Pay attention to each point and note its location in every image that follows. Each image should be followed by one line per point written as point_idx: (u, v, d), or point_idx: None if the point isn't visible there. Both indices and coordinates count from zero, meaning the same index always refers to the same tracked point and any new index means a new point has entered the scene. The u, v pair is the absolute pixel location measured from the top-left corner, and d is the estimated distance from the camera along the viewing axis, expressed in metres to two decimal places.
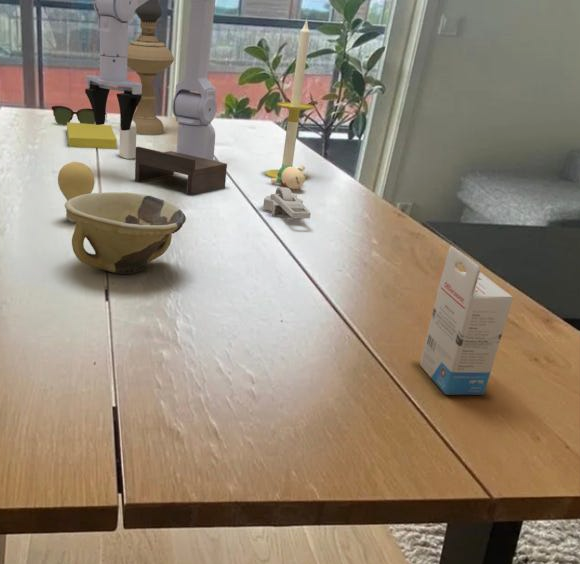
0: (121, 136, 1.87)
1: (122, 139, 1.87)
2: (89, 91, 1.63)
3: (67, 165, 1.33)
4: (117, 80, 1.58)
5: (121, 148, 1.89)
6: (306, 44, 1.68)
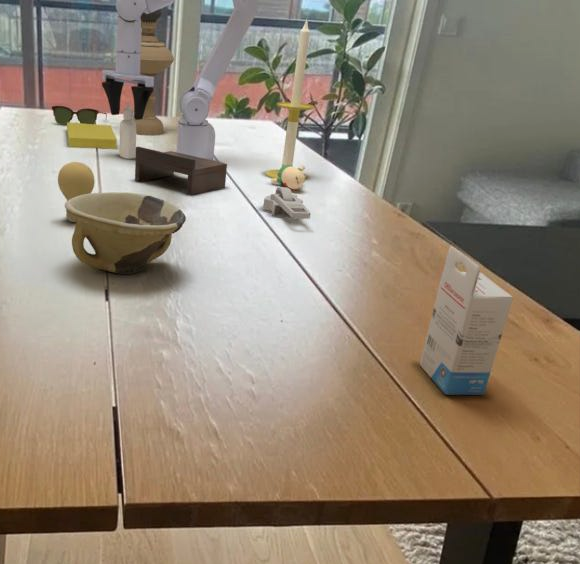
0: (121, 136, 1.87)
1: (122, 139, 1.87)
2: (106, 84, 1.80)
3: (67, 165, 1.33)
4: (131, 74, 1.76)
5: (121, 148, 1.89)
6: (306, 44, 1.68)
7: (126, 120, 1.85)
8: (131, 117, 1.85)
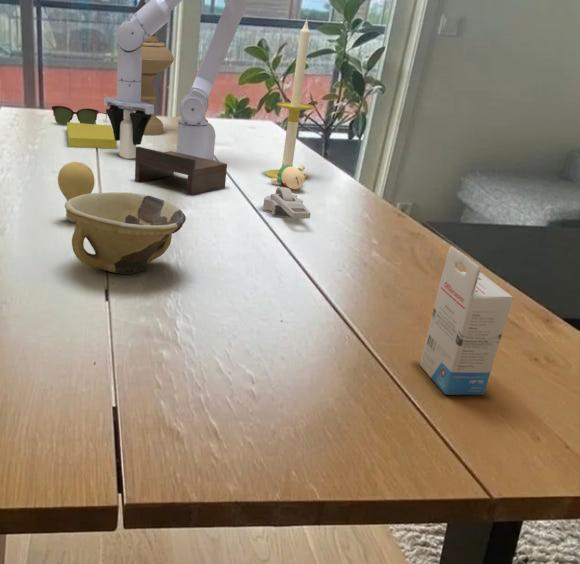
0: (121, 136, 1.87)
1: (122, 139, 1.87)
2: (109, 111, 1.85)
3: (67, 165, 1.33)
4: (132, 102, 1.81)
5: (121, 148, 1.89)
6: (306, 44, 1.68)
7: (126, 120, 1.85)
8: None
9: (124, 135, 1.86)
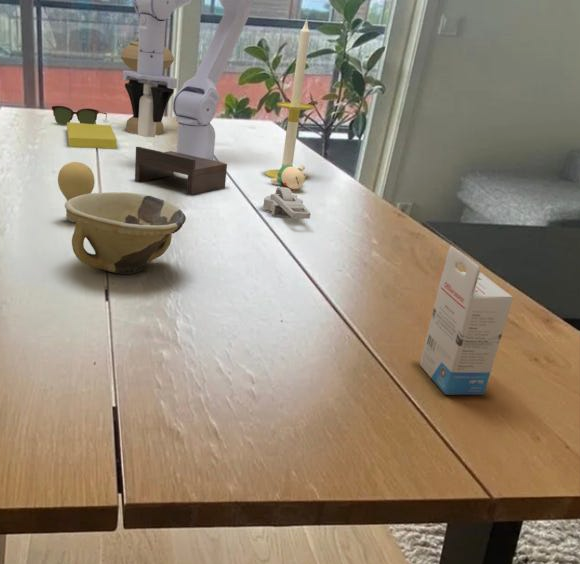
0: (140, 113, 1.74)
1: (141, 116, 1.74)
2: (129, 85, 1.72)
3: (67, 165, 1.33)
4: (154, 75, 1.68)
5: (140, 126, 1.75)
6: (306, 44, 1.68)
7: (146, 95, 1.72)
8: None
9: (144, 111, 1.73)
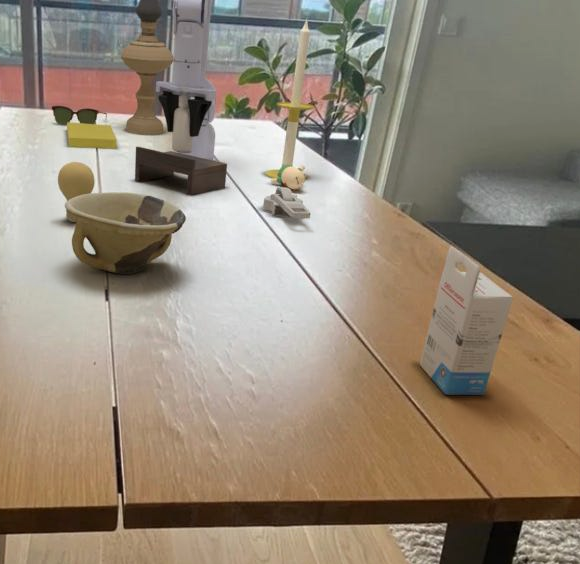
0: (175, 127, 1.62)
1: (176, 130, 1.62)
2: (163, 98, 1.60)
3: (67, 165, 1.33)
4: (190, 86, 1.56)
5: (175, 141, 1.63)
6: (306, 44, 1.68)
7: (182, 108, 1.59)
8: None
9: (179, 125, 1.61)
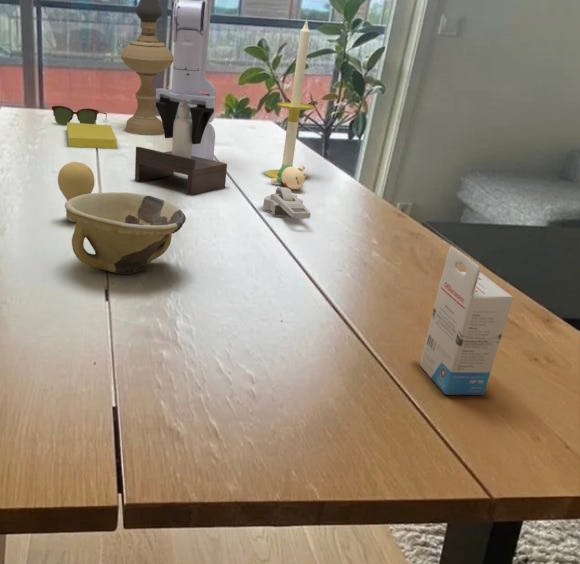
0: (175, 136, 1.63)
1: (176, 140, 1.63)
2: (160, 104, 1.61)
3: (67, 165, 1.33)
4: (190, 94, 1.57)
5: (175, 150, 1.64)
6: (306, 44, 1.68)
7: (182, 118, 1.60)
8: (187, 114, 1.60)
9: (179, 135, 1.62)
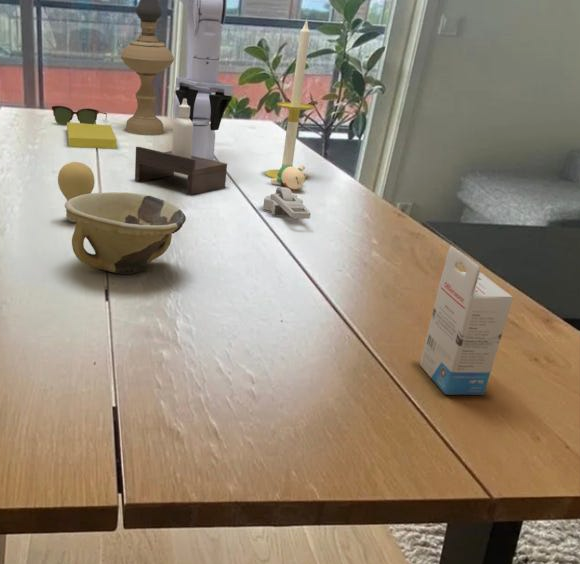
0: (175, 136, 1.63)
1: (176, 140, 1.63)
2: (180, 92, 1.68)
3: (67, 165, 1.33)
4: (209, 82, 1.64)
5: (175, 150, 1.64)
6: (306, 44, 1.68)
7: (182, 118, 1.60)
8: (187, 114, 1.60)
9: (179, 135, 1.62)
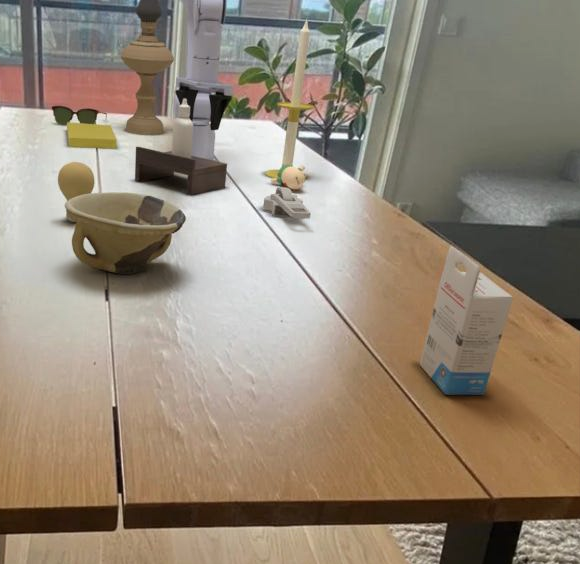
0: (175, 136, 1.63)
1: (176, 140, 1.63)
2: (180, 92, 1.68)
3: (67, 165, 1.33)
4: (209, 82, 1.64)
5: (175, 150, 1.64)
6: (306, 44, 1.68)
7: (182, 118, 1.60)
8: (187, 114, 1.60)
9: (179, 135, 1.62)
